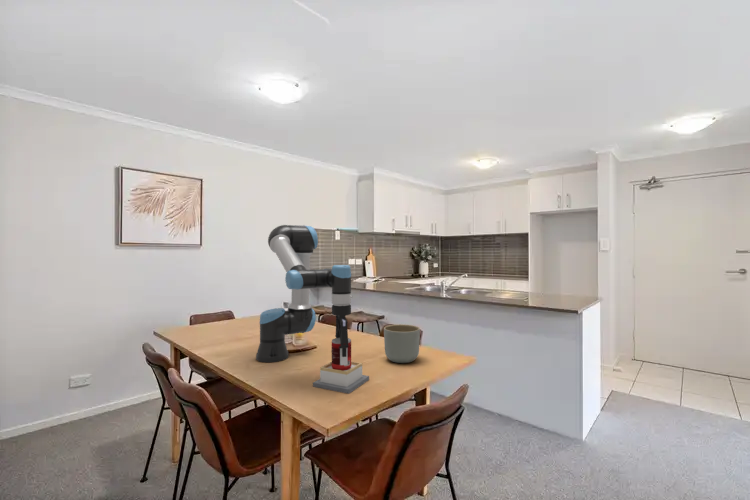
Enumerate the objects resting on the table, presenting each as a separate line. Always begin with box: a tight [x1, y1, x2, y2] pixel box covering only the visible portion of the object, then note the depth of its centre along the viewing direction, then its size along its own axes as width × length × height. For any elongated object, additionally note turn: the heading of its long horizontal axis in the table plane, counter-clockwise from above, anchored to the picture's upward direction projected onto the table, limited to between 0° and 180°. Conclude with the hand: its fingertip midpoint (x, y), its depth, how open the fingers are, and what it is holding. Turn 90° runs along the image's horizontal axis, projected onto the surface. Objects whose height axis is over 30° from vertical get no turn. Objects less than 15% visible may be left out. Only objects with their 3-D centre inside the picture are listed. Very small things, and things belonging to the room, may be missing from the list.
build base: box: [312, 360, 370, 394], centre depth 143 cm, size 16×16×7 cm
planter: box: [383, 323, 421, 364], centre depth 173 cm, size 17×17×15 cm
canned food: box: [331, 337, 352, 371], centre depth 143 cm, size 8×8×11 cm
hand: (341, 360), depth 143 cm, fingers open, 10 cm apart
